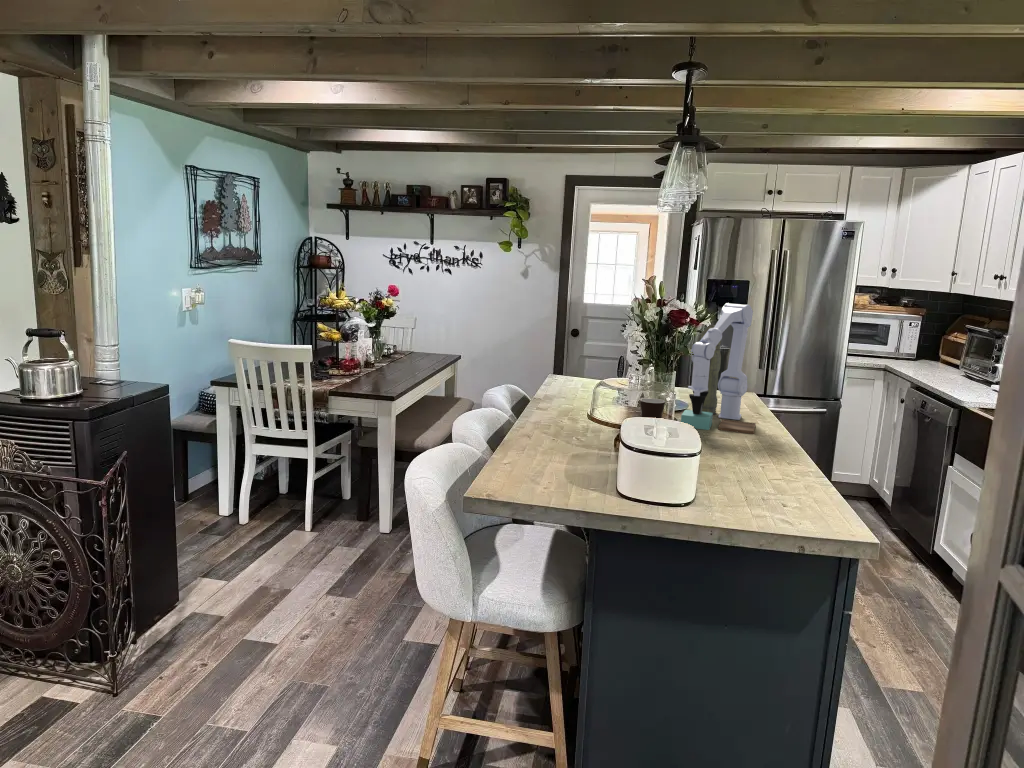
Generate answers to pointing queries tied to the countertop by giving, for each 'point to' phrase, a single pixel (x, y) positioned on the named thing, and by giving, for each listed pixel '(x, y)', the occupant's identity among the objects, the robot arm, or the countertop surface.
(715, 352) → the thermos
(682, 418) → the cover
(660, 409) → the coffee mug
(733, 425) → the walnut board
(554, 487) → the countertop surface
